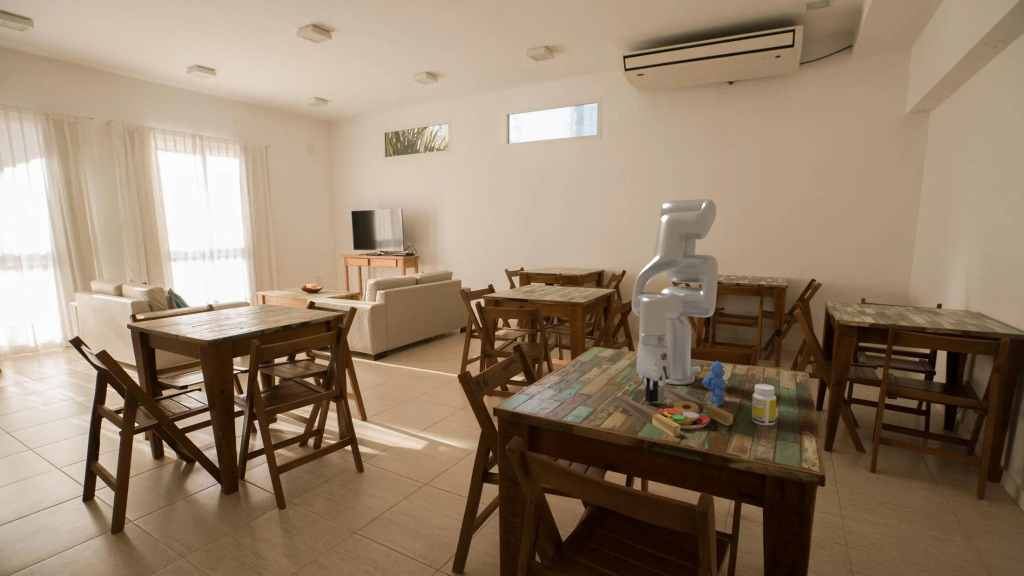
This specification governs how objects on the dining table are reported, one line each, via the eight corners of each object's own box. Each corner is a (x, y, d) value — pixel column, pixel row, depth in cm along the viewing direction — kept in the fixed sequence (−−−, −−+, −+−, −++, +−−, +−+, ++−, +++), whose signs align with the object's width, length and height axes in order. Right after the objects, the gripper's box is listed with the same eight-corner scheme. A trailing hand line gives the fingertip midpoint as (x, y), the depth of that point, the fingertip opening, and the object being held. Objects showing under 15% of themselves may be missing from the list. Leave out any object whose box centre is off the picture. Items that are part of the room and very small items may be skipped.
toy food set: (689, 409, 133) (689, 398, 132) (722, 427, 120) (723, 415, 120) (647, 415, 129) (648, 404, 129) (678, 434, 116) (678, 422, 116)
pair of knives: (669, 395, 144) (669, 387, 144) (732, 424, 122) (732, 414, 121) (616, 404, 137) (616, 396, 137) (673, 436, 115) (673, 426, 114)
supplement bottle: (771, 418, 125) (773, 383, 124) (778, 426, 120) (780, 390, 119) (749, 417, 126) (750, 382, 125) (754, 425, 121) (756, 388, 120)
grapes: (698, 395, 144) (699, 356, 143) (721, 396, 142) (723, 357, 141) (704, 408, 133) (705, 367, 131) (729, 410, 131) (731, 368, 130)
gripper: (681, 343, 130) (679, 407, 132) (646, 333, 143) (645, 391, 146) (659, 346, 127) (658, 412, 129) (626, 335, 141) (625, 395, 143)
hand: (651, 400), depth 137 cm, fingers closed
